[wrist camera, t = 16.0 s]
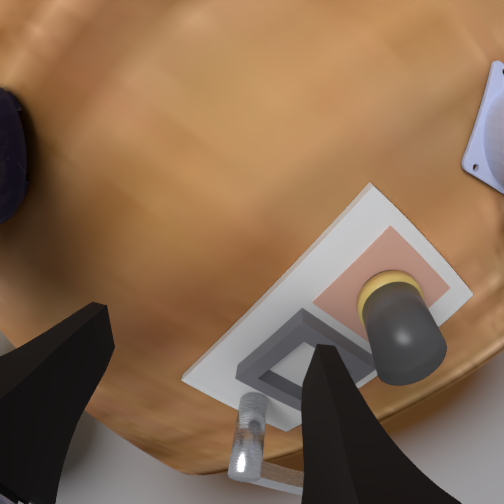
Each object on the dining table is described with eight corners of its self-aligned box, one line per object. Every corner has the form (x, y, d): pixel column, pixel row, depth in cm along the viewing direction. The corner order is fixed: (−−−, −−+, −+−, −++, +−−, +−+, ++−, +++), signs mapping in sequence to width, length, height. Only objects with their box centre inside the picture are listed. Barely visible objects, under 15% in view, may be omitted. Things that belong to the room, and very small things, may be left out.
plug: (426, 272, 19) (463, 331, 13) (403, 324, 21) (426, 388, 15) (367, 261, 19) (392, 325, 13) (346, 318, 21) (360, 386, 15)
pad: (390, 224, 18) (391, 226, 17) (449, 286, 19) (450, 288, 19) (312, 301, 21) (312, 303, 20) (378, 347, 22) (379, 349, 22)
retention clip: (234, 402, 26) (221, 476, 19) (249, 389, 25) (238, 468, 18) (342, 442, 28) (346, 503, 22) (359, 432, 27) (366, 496, 20)
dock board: (369, 181, 17) (380, 193, 15) (469, 288, 20) (482, 306, 18) (183, 373, 26) (176, 393, 24) (286, 425, 29) (286, 444, 27)
